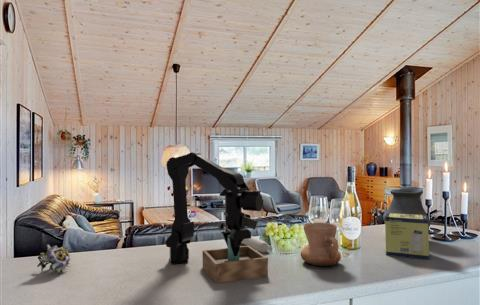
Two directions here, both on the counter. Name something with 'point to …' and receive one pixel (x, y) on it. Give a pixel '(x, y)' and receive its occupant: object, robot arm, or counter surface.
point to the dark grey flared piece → (406, 202)
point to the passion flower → (55, 259)
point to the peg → (231, 253)
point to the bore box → (234, 264)
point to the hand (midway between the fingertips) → (233, 254)
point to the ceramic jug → (321, 244)
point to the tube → (256, 244)
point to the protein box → (407, 235)
